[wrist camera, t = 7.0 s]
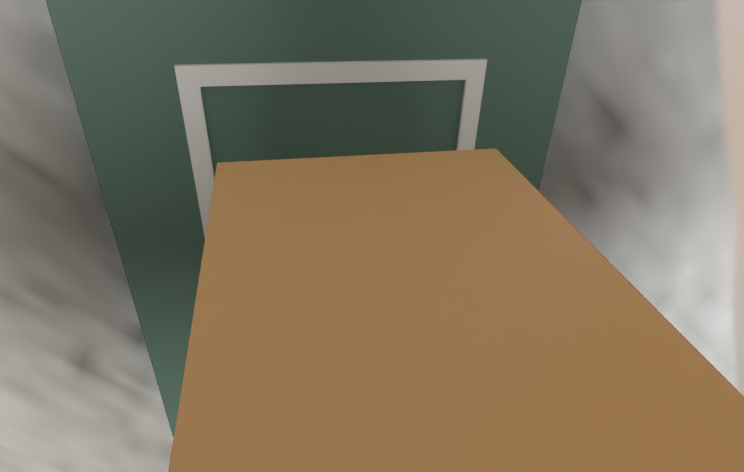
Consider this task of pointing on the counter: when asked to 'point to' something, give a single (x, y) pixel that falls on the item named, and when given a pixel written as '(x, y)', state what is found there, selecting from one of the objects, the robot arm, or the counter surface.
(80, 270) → the counter surface
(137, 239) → the board
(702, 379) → the block
